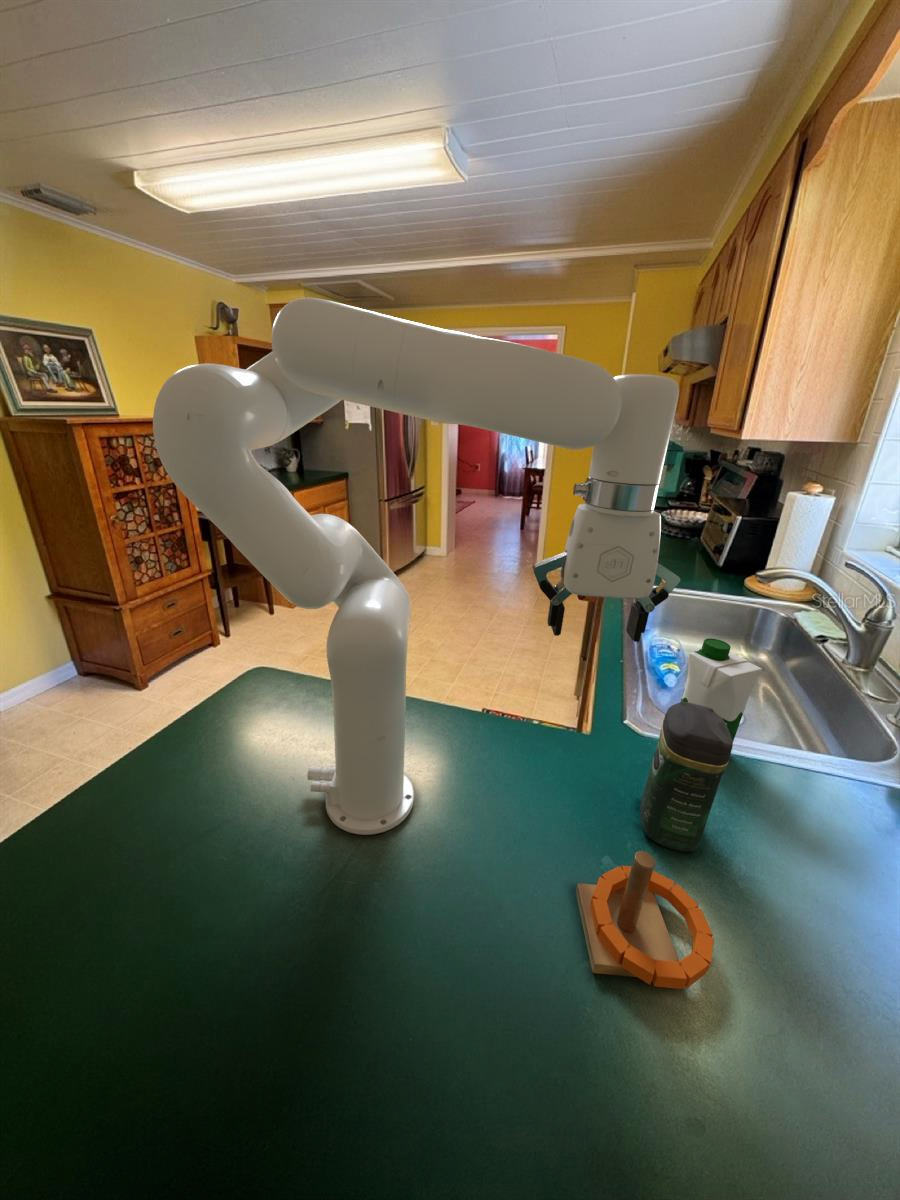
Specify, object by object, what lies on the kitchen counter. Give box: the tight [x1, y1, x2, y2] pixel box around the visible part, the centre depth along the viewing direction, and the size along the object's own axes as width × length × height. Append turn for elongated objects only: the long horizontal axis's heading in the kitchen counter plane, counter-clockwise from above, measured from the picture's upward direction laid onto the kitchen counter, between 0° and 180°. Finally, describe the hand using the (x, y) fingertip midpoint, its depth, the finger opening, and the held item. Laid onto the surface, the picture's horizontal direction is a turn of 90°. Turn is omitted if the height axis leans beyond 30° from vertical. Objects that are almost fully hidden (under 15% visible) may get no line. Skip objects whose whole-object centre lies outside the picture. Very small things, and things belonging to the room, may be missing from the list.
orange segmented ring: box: [590, 865, 715, 990], centre depth 52 cm, size 12×12×2 cm
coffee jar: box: [639, 701, 734, 852], centre depth 64 cm, size 10×8×19 cm
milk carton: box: [680, 637, 763, 744], centre depth 80 cm, size 9×9×20 cm
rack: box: [575, 850, 680, 978], centre depth 51 cm, size 9×9×12 cm
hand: (593, 634), depth 59 cm, fingers open, 9 cm apart
